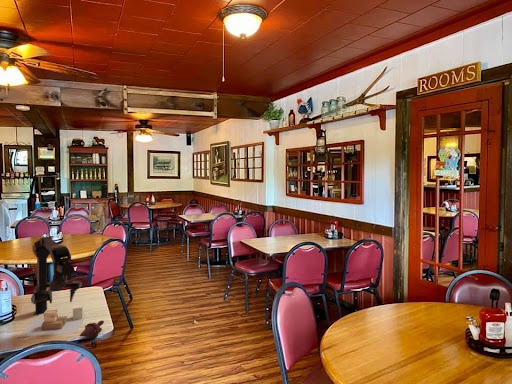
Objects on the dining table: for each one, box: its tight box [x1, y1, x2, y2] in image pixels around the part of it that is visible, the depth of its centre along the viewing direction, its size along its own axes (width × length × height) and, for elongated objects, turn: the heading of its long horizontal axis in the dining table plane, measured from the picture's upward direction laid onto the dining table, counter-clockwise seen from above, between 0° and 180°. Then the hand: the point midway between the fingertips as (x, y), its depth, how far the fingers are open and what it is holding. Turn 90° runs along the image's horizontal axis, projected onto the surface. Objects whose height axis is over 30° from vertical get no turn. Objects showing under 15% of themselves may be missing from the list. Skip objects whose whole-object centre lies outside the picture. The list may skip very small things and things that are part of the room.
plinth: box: [42, 315, 67, 330], centre depth 193 cm, size 9×9×3 cm
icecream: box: [79, 320, 105, 339], centre depth 181 cm, size 7×7×15 cm
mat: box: [17, 314, 88, 339], centre depth 194 cm, size 22×26×1 cm
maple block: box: [43, 308, 59, 323], centre depth 192 cm, size 5×5×5 cm
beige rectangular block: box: [72, 304, 84, 320], centre depth 203 cm, size 4×4×6 cm
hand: (61, 302), depth 191 cm, fingers open, 9 cm apart
